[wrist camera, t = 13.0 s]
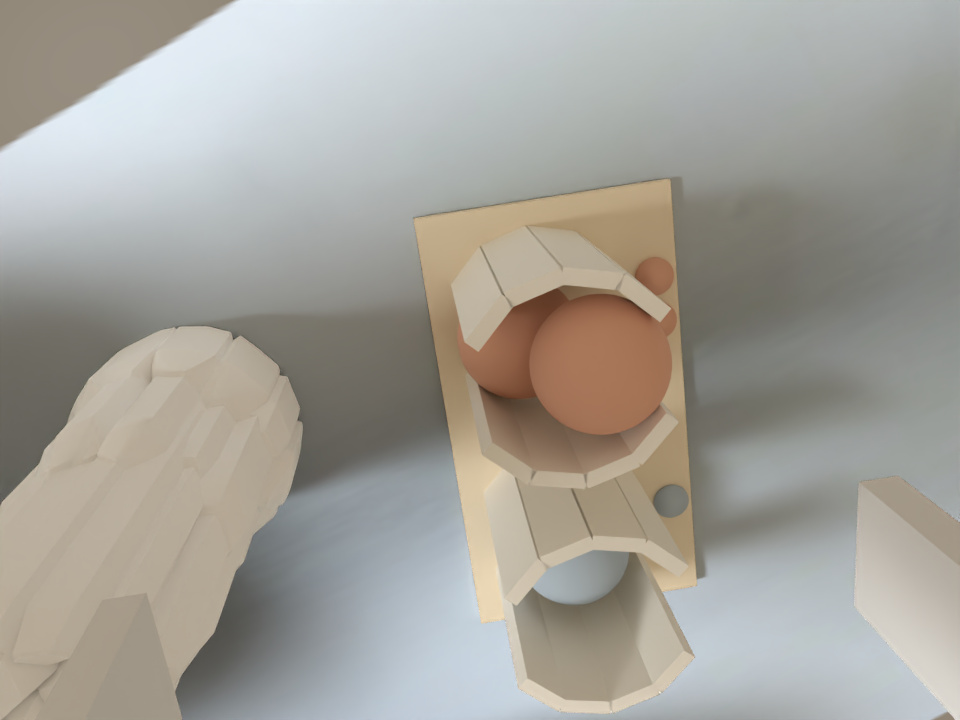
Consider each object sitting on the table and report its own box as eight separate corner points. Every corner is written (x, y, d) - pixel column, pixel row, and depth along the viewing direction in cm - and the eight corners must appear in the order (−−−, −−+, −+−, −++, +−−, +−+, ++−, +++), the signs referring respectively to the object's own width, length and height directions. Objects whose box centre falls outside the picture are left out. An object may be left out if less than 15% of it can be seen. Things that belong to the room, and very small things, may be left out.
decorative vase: (242, 292, 42) (32, 562, 18) (337, 465, 45) (264, 880, 22) (51, 378, 42) (-393, 748, 19) (160, 543, 46) (-100, 1030, 22)
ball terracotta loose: (531, 462, 34) (681, 457, 33) (519, 323, 32) (679, 314, 31) (537, 403, 39) (665, 397, 39) (527, 282, 37) (663, 273, 37)
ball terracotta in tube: (491, 374, 45) (447, 417, 40) (475, 265, 43) (428, 296, 38) (599, 373, 42) (568, 419, 37) (588, 258, 41) (554, 290, 35)
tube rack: (480, 617, 49) (500, 753, 39) (413, 217, 41) (416, 260, 31) (693, 580, 50) (766, 705, 40) (666, 178, 42) (749, 207, 32)
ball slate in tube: (516, 572, 48) (532, 638, 42) (503, 480, 46) (517, 536, 40) (618, 555, 48) (647, 618, 42) (609, 463, 46) (638, 515, 40)
